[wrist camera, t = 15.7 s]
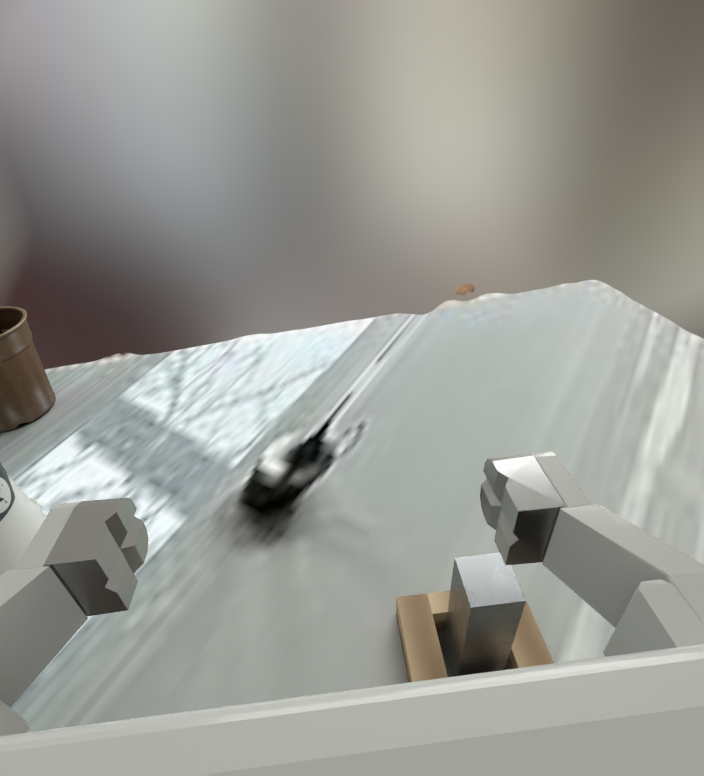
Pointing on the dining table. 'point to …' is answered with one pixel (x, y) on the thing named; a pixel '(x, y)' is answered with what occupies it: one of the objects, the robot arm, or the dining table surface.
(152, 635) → the dining table surface
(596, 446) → the dining table surface
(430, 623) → the well block
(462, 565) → the post
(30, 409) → the plant pot
